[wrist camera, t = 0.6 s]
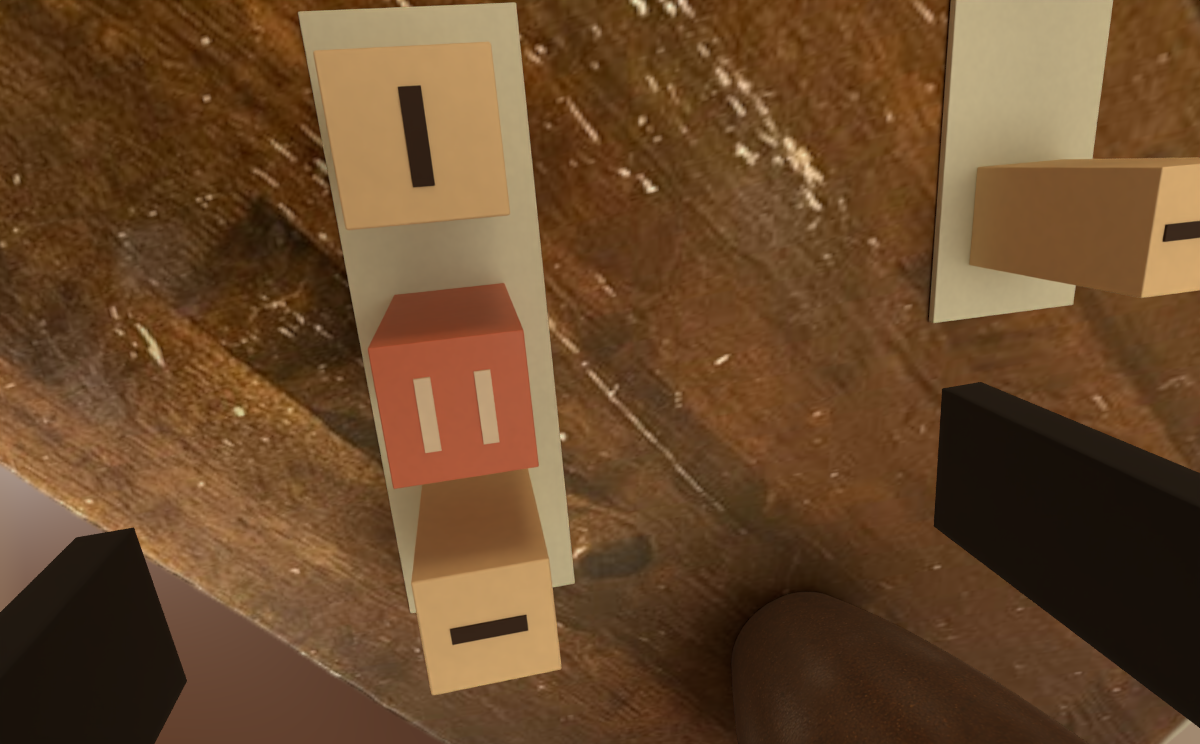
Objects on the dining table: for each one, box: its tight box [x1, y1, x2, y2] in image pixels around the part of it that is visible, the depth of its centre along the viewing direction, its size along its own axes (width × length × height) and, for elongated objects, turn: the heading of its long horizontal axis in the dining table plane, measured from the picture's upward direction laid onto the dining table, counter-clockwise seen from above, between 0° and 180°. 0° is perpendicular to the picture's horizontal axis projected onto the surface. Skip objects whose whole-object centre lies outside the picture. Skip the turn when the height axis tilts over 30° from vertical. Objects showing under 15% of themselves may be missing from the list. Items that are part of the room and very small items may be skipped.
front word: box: [298, 3, 575, 695], centre depth 26 cm, size 26×8×10 cm, turn 5°
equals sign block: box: [368, 283, 539, 489], centre depth 25 cm, size 5×5×9 cm
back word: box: [929, 0, 1200, 323], centre depth 27 cm, size 26×8×10 cm, turn 5°
